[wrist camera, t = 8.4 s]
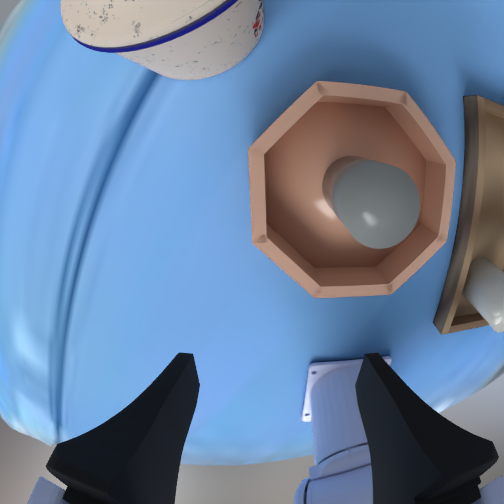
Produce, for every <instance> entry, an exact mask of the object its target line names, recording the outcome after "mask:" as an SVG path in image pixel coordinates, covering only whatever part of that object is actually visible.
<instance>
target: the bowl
mask: <svg viewBox="0 0 504 504" xmlns="http://www.w3.org/2000/svg"><path fill="white" fill-rule="evenodd" d="M345 156H358V157H362V158H366V159H370V160H374V161H378V162H382V163H385V164H389V165H392V166H396V167H398V168H400V169H402V170H403V171H405V172H406V173H407V174H408V175H409V176H410V177H411V178H412V180H413V181H414V183H415V184H416V187H417V189H418V192H419V197H420V212H419V216H418V220H417V222H416V225H415V226H414V228H413V230H412V231H411V233H410V234H409V235H408V236H407V237H406V238H405V239H404V240H403V241H401V242H400V243H398V244H396V245H394V246H392V247H389V248H383V249H376V248H370V247H367V246H365V245H363V244H361V243H360V242H358V241H357V240H356V239H355V238H354V237H353V236H352V235H351V234H350V232H349V231H348V230H347V228H346V227H345V226H344V224H343V223H342V222H341V221H340V219H339V218H338V217H337V216H336V214H335V213H334V212H333V210H332V209H331V208H330V207H329V206H328V204H327V203H326V201H325V199H324V196H323V191H322V181H323V177H324V174H325V172H326V170H327V169H328V167H329V166H330V165H331V164H332V163H333V162H334V161H336V160H337V159H339V158H342V157H345ZM248 157H249V179H250V201H251V223H252V243H253V244H254V245H255V246H256V247H257V248H259V249H260V250H261V251H262V252H263V253H264V254H265V255H266V256H268V257H269V258H270V259H271V260H272V261H273V262H274V263H276V264H277V265H278V266H279V267H280V268H281V269H282V270H283V271H285V272H286V273H287V274H288V275H289V276H290V277H291V278H292V279H294V280H295V281H296V282H297V283H298V284H299V285H300V286H301V287H303V288H304V289H305V290H306V291H307V292H308V293H309V294H310V295H312V296H313V297H314V298H333V297H356V296H374V295H390V294H392V293H393V292H394V291H396V290H397V289H398V288H399V287H400V286H401V285H402V284H403V283H404V282H406V281H407V280H408V279H409V278H410V277H411V276H412V275H413V274H414V273H415V272H416V271H417V270H418V269H419V268H420V267H421V266H423V265H424V264H425V263H426V262H427V261H428V260H429V259H430V258H431V257H432V256H433V255H434V254H435V253H436V252H437V251H438V250H439V249H440V248H441V247H442V246H443V244H444V243H445V242H446V241H447V236H448V230H449V224H450V217H451V210H452V202H453V193H454V182H455V167H456V161H455V159H454V157H453V156H452V154H451V153H450V151H449V149H448V148H447V146H446V145H445V143H444V142H443V140H442V139H441V137H440V136H439V134H438V133H437V131H436V130H435V128H434V127H433V125H432V124H431V123H430V121H429V120H428V119H427V117H426V116H425V114H424V113H423V112H422V110H421V109H420V108H419V107H418V105H417V104H416V103H415V102H414V100H413V99H412V98H411V97H410V95H409V94H408V93H407V92H406V91H400V90H395V89H389V88H383V87H376V86H369V85H361V84H352V83H341V82H328V81H316V82H315V83H314V84H313V85H312V86H311V87H310V88H309V89H308V90H306V91H305V92H304V93H303V94H302V95H301V96H300V97H299V98H298V99H297V100H296V101H295V102H294V103H293V104H292V105H291V106H290V107H289V108H288V109H287V110H286V111H285V112H284V113H283V114H282V115H281V116H280V117H279V118H278V119H277V120H276V121H275V122H274V123H273V124H272V125H271V126H270V127H269V128H268V129H267V130H266V131H265V132H264V133H263V134H262V135H261V136H260V137H259V138H258V139H257V140H256V141H255V142H254V143H253V144H252V145H251V146H250V147H249V148H248Z"/></svg>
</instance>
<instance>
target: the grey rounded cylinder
mask: <svg viewBox="0 0 504 504" xmlns="http://www.w3.org/2000/svg"><path fill="white" fill-rule="evenodd" d="M322 191H323V196H324V199H325V201H326V203H327V204H328V206H329V207H330V208H331V209H332V210H333V212H334V213H335V214H336V216H337V217H338V218H339V219H340V221H341V222H342V223H343V224H344V226H345V227H346V228H347V230H348V231H349V232H350V234H351V235H352V236H353V237H354V238H355V239H356V240H357V241H358V242H360V243H361V244H363V245H365V246H367V247H370V248H376V249H383V248H389V247H392V246H394V245H396V244H398V243H400V242H401V241H403V240H404V239H405V238H406V237H407V236H408V235H409V234H410V233H411V231H412V230H413V228H414V226H415V225H416V222H417V220H418V216H419V212H420V197H419V192H418V189H417V187H416V184H415V183H414V181H413V180H412V178H411V177H410V176H409V175H408V174H407V173H406V172H405V171H403V170H402V169H400V168H398V167H396V166H392V165H389V164H385V163H382V162H378V161H374V160H370V159H366V158H362V157H358V156H345V157H342V158H339V159H337V160H336V161H334V162H333V163H332V164H331V165H330V166H329V167H328V169H327V170H326V172H325V174H324V177H323V181H322Z"/></svg>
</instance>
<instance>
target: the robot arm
mask: <svg viewBox="0 0 504 504" xmlns="http://www.w3.org/2000/svg"><path fill="white" fill-rule="evenodd" d="M391 362H392V359H391V357H390V356H385V357H381V356H380V355H379V353H370V354H365V355H364V359H358V360H347V361H334V362H318V363H312V364H310V365H309V369H308V377H307V384H306V391H305V398H304V405H303V411H302V421H311V427H312V439H313V452H314V462H315V466H312V467H310V468H309V474H310V477H309V478H306V479H304V480H303V481H302V482H301V483H300V485H299V487H298V488H297V490H296V492H295V496H294V503H293V504H504V478H503V476H500V477H499V478H497V479H495V480H494V481H492V482H490V483H489V484H487V485H485V486H484V487H482V488H480V489H479V488H478V484H480V483H481V480H480V477H479V476H480V475H482V474H483V473H484V472H485V471H487V470H488V469H489V468H490V467H491V466H493V464H495V462H496V461H497V460H498V457H499V456H498V453H497V451H496V449H495V446H494V444H493V442H492V441H489V440H487V439H484V438H482V437H479V436H476V435H474V434H472V433H470V432H468V431H466V430H464V429H462V428H460V427H459V426H457V425H455V424H454V423H452V422H451V421H449V420H447V419H446V418H444V417H443V416H441V415H440V414H439V413H437V412H436V411H435V410H434V409H432V408H431V407H430V406H429V405H427V404H426V403H425V402H424V401H423V400H422V399H421V398H420V397H419V396H417V395H416V394H415V393H414V392H413V391H412V390H411V389H410V388H409V387H408V386H407V385H406V383H405V382H404V381H403V380H402V379H401V378H400V377H399V376H398V375H397V374H396V373H395V371H394V370H393V369H392V368H391V367H390V365H391ZM313 371H315V372H313ZM199 387H200V383H199V379H198V375H197V370H196V365H195V361H194V356H193V354H189V353H178V354H177V355H176V357H175V358H174V359H173V360H172V361H171V362H170V364H169V365H168V366H167V367H166V368H165V369H164V370H163V372H162V373H161V374H160V375H159V376H158V377H157V378H156V379H155V380H154V381H153V382H152V384H151V385H150V386H149V387H148V388H147V389H146V390H145V391H144V392H142V393H141V394H140V395H139V396H138V397H137V398H136V399H135V400H134V401H133V402H132V403H130V404H129V405H128V406H127V407H126V408H124V409H123V410H122V411H120V412H119V413H118V414H116V415H115V416H113V417H112V418H110V419H109V420H108V421H106V422H104V423H103V424H101V425H99V426H98V427H96V428H94V429H92V430H90V431H88V432H86V433H84V434H82V435H80V436H78V437H75V438H73V439H70V440H68V441H65V442H62V443H59V444H57V446H56V447H55V449H54V451H53V453H52V455H51V457H50V459H49V461H48V463H47V465H46V468H47V470H49V472H50V473H51V474H53V475H54V476H55V477H56V478H58V479H59V480H60V481H61V482H63V483H64V484H65V485H67V486H68V487H67V489H66V491H65V490H64V489H62V488H61V487H59V486H57V485H55V484H53V483H52V482H50V481H48V480H47V479H45V478H43V477H39V479H38V481H37V483H36V485H35V487H34V489H33V492H32V494H31V496H30V498H29V501H28V503H27V504H175V494H176V486H177V479H178V472H179V466H180V461H181V455H182V451H183V447H184V443H185V440H186V437H187V434H188V431H189V427H190V424H191V421H192V418H193V415H194V411H195V408H196V404H197V399H198V393H199Z"/></svg>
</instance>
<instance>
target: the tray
mask: <svg viewBox="0 0 504 504" xmlns="http://www.w3.org/2000/svg"><path fill="white" fill-rule="evenodd" d="M463 99H464V117H465V155H464V174H463V186H462V196H461V205H460V212H459V219H458V225H457V231H456V237H455V242H454V247H453V252H452V257H451V261H450V266H449V270H448V274H447V278H446V282H445V285H444V289H443V293H442V296H441V299H440V303H439V306H438V309H437V312H436V315H435V318H434V321H433V324H434V325H435V327H436V328H437V329H438V331H439V332H440V334H441V335H442V334H447V333H452V332H458V331H463V330H468V329H472V328H477V327H481V326H486V325H490V324H489V323H488V322H487V321H486V320H485V319H484V317H483V316H482V315H481V314H480V313H479V312H478V311H477V310H476V309H475V308H474V306H473V305H472V304H471V303H470V302H469V301H468V300H467V299H466V298H465V297H464V296H463V295H462V291H463V288H464V284H465V281H466V277H467V273H468V270H469V266H470V263H471V262H472V261H473V260H474V259H476V258H478V257H485V258H487V259H488V260H490V261H491V262H492V263H494V264H495V265H496V266H497V267H499V268H500V269H501V270H502V271H503V270H504V106H503V105H500V104H498V103H496V102H493V101H491V100H488V99H486V98H483V97H481V96H478V95H473V96H463Z"/></svg>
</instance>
